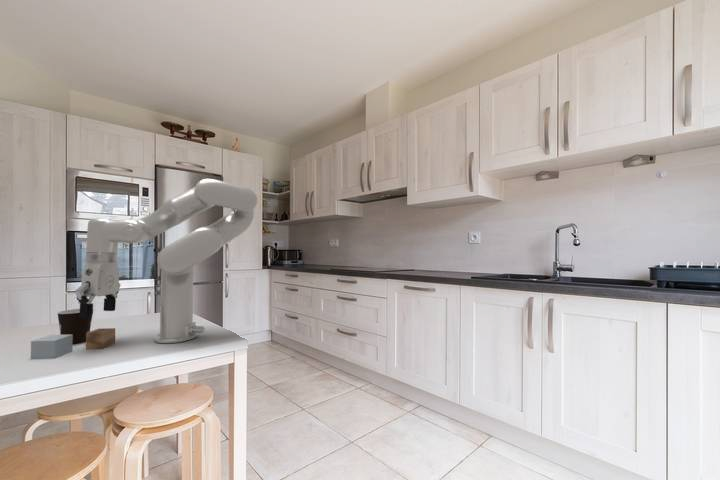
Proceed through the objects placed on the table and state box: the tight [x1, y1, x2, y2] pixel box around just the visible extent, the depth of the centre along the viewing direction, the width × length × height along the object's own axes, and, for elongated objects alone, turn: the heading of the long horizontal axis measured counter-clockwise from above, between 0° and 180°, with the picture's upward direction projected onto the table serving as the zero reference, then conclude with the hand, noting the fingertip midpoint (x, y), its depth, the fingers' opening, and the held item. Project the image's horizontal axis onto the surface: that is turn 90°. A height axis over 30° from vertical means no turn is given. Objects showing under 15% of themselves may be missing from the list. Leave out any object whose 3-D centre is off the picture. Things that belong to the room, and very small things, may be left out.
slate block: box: [30, 334, 73, 360], centre depth 89 cm, size 6×6×5 cm
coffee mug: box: [57, 308, 93, 346], centre depth 102 cm, size 12×9×10 cm
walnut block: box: [85, 327, 116, 350], centre depth 96 cm, size 5×5×5 cm
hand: (98, 313), depth 96 cm, fingers open, 9 cm apart
